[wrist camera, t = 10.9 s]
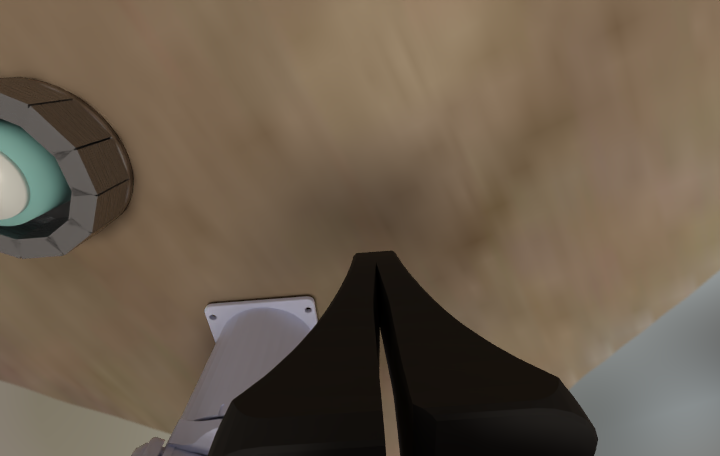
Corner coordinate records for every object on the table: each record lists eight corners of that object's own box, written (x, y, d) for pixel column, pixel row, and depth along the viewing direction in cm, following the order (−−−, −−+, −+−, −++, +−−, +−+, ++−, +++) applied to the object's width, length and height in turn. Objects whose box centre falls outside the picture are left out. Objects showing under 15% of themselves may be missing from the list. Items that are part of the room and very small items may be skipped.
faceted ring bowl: (154, 224, 22) (122, 250, 19) (16, 235, 22) (-37, 263, 19) (95, 71, 18) (42, 73, 15) (-74, 85, 18) (-161, 90, 15)
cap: (101, 197, 20) (56, 222, 17) (21, 207, 20) (-39, 233, 17) (58, 111, 18) (-3, 121, 15) (-32, 122, 18) (-111, 135, 15)
